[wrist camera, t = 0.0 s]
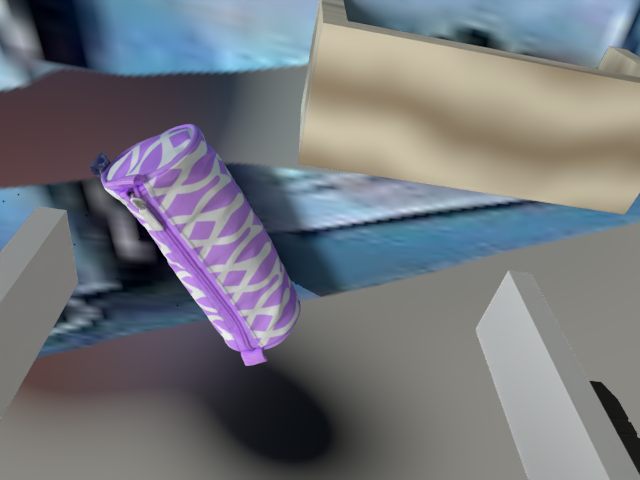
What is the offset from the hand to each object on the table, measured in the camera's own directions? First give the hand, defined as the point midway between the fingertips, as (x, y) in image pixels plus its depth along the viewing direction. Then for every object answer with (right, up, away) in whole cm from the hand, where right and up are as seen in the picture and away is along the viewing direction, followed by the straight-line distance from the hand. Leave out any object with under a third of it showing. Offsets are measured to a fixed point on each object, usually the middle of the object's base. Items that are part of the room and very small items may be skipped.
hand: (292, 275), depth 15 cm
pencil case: (-9, +3, +32) cm, 33 cm away
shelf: (+12, +13, +24) cm, 30 cm away
